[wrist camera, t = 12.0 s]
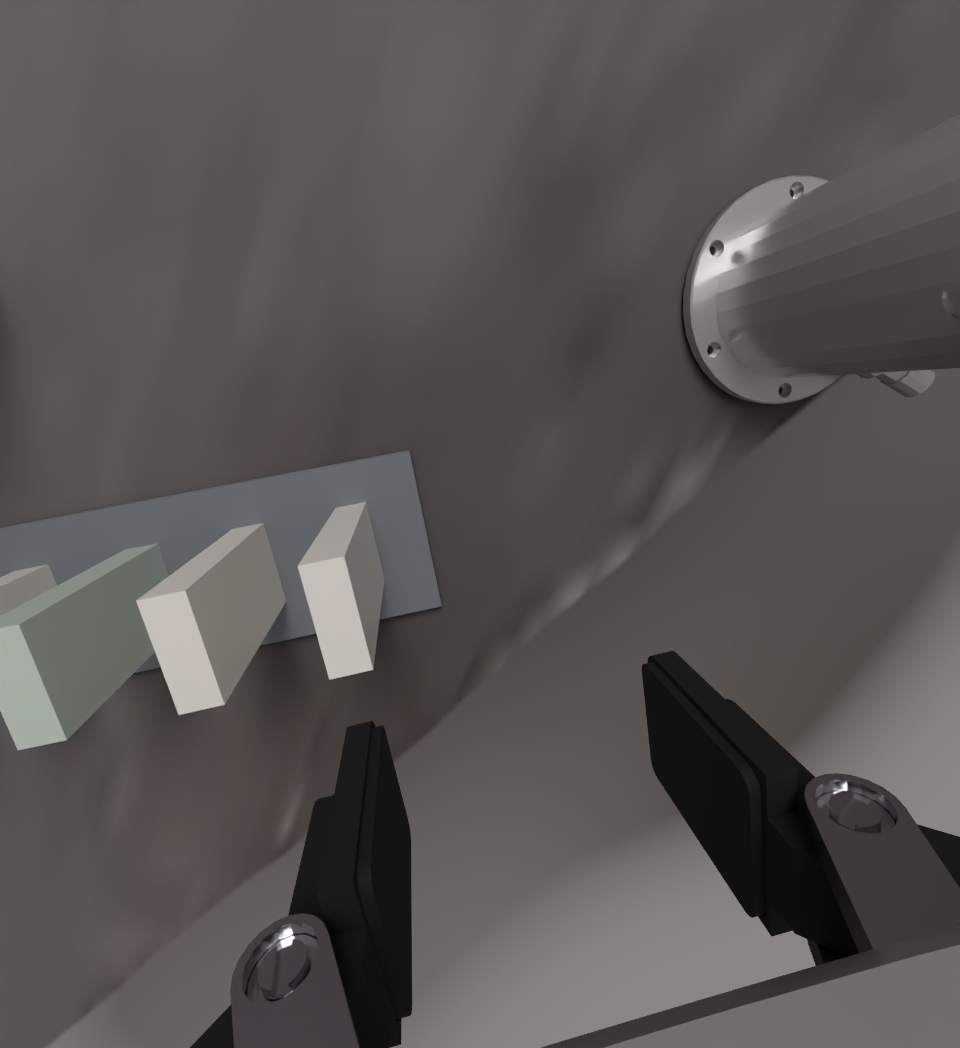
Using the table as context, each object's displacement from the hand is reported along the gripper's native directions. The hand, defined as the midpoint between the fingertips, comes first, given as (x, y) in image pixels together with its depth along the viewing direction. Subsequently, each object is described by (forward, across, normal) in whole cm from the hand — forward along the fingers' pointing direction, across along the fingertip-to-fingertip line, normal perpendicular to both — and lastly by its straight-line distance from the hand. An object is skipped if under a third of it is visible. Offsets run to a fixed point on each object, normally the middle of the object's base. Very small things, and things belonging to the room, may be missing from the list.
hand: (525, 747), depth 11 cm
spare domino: (+21, +18, 0) cm, 27 cm away
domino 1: (+21, +6, 0) cm, 22 cm away
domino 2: (+21, +12, 0) cm, 24 cm away
